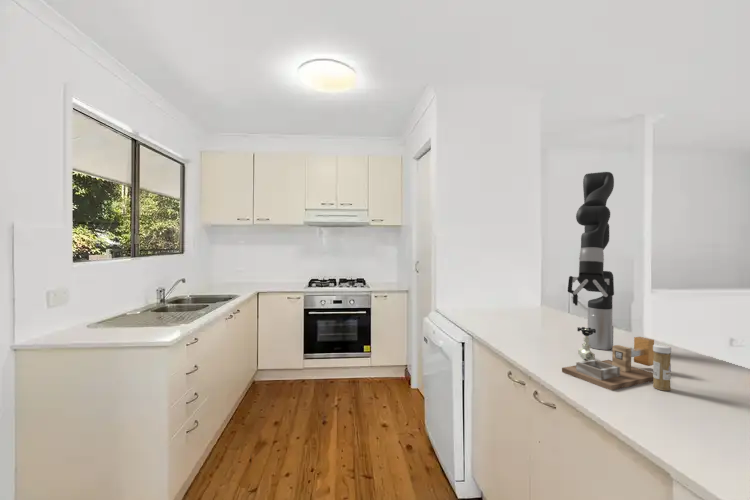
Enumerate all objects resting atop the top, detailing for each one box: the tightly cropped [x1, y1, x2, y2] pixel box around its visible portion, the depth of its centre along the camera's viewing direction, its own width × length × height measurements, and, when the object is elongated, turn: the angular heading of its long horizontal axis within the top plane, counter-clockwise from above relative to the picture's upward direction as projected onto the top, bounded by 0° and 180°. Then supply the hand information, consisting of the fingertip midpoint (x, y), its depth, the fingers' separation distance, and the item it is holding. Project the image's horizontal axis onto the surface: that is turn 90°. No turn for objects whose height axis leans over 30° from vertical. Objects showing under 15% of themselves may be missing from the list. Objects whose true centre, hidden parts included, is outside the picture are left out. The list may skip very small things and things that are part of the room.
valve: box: [576, 326, 596, 361], centre depth 148 cm, size 7×7×12 cm
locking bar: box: [616, 336, 655, 367], centre depth 134 cm, size 15×5×9 cm, turn 113°
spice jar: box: [652, 343, 672, 392], centre depth 118 cm, size 5×5×13 cm
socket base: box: [561, 344, 654, 391], centre depth 129 cm, size 24×18×9 cm
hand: (589, 306), depth 134 cm, fingers open, 8 cm apart
